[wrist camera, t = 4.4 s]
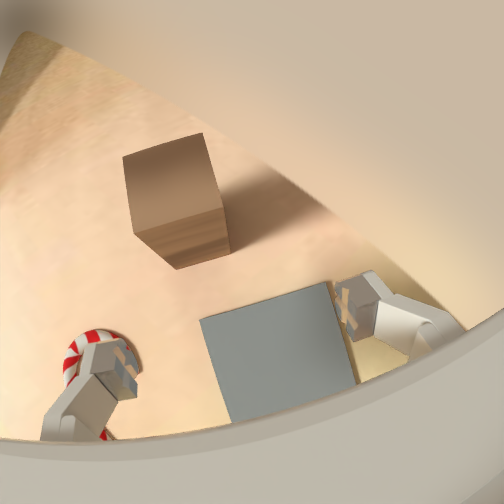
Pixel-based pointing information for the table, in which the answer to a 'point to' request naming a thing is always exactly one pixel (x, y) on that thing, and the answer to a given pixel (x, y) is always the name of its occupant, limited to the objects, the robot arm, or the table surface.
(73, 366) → the candy cane
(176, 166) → the walnut block
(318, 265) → the table surface
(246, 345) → the slate mat
